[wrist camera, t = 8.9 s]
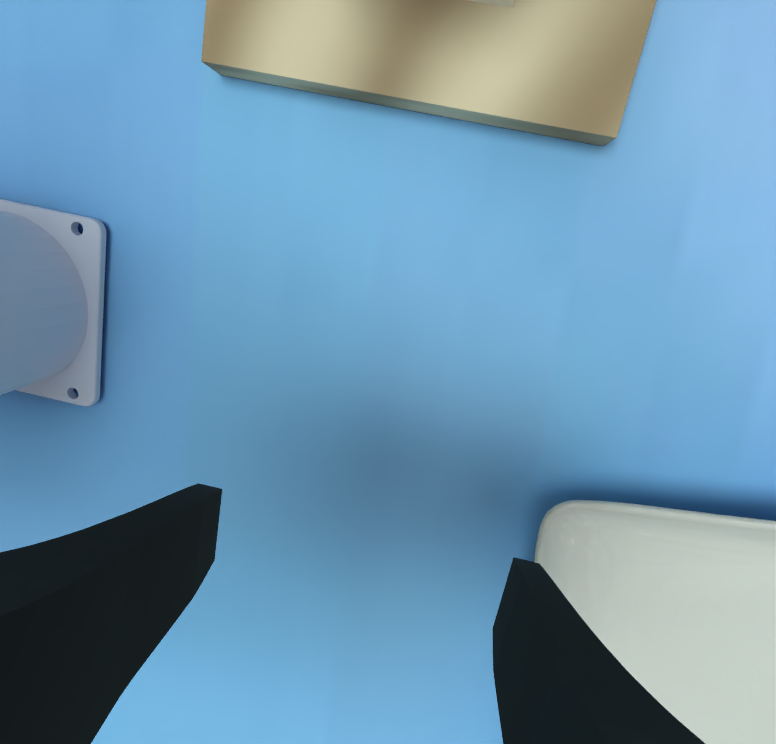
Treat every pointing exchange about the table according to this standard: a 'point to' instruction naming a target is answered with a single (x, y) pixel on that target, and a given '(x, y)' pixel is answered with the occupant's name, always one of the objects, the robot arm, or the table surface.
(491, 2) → the pale matte cube
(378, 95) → the plate
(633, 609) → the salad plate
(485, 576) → the table surface
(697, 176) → the table surface
